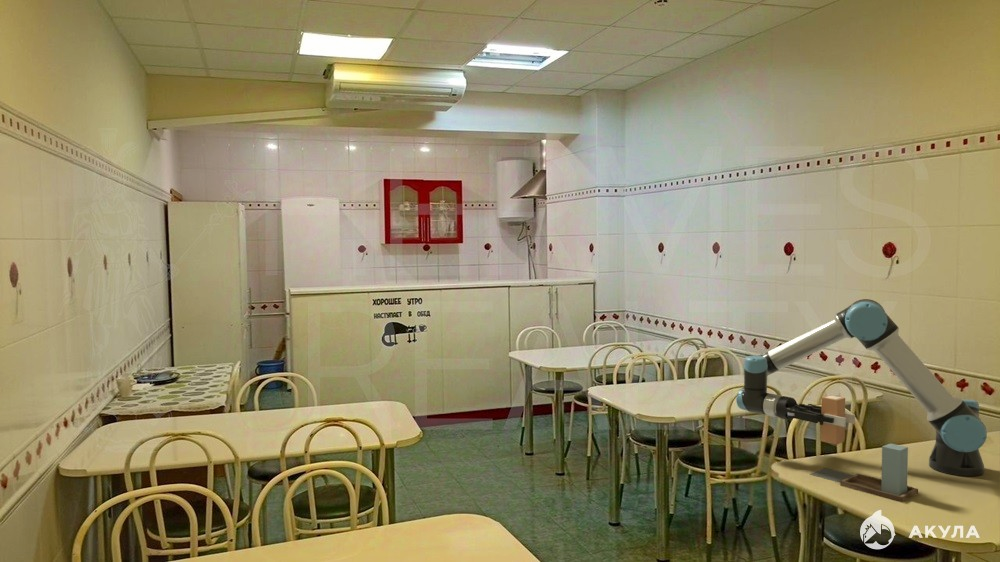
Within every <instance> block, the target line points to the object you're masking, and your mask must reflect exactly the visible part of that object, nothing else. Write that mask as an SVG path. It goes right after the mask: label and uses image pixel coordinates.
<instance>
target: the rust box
mask: <svg viewBox="0 0 1000 562" xmlns="http://www.w3.org/2000/svg"><path fill="white" fill-rule="evenodd" d="M820 406H821V414H823V416H824V414H829V415H834V416H839V417H844V418H845V413H846V397H842V396H838V395H836V396H835V395H831V394H830V395H825V396H823V397H821V405H820ZM845 428H846V427H842V426H838V425H833V424H828V423H824V421H823V425H820V441H821V442H823V443H828V444H832V445H835V446H836V445H840V444H841V443H844V442H845V432H846V431H845V430H846V429H845Z"/></svg>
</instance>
